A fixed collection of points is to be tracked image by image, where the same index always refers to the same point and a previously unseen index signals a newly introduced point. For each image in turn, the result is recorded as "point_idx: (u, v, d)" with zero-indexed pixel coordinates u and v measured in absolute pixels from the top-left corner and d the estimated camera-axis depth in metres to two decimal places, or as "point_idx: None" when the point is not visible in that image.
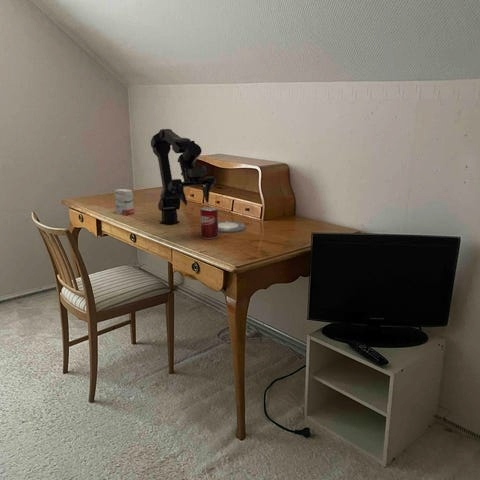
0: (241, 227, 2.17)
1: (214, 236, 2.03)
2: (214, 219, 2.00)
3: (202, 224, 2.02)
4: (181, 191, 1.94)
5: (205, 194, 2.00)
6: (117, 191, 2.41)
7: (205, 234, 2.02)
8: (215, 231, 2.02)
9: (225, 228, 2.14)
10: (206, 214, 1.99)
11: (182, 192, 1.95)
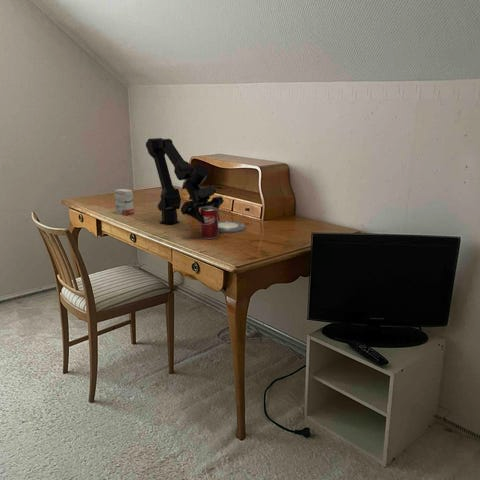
0: (241, 227, 2.17)
1: (214, 236, 2.02)
2: (214, 219, 2.00)
3: (202, 224, 2.02)
4: (197, 211, 2.00)
5: None
6: (117, 191, 2.41)
7: (205, 234, 2.02)
8: (215, 231, 2.02)
9: (225, 228, 2.14)
10: (206, 214, 1.99)
11: (198, 212, 2.00)
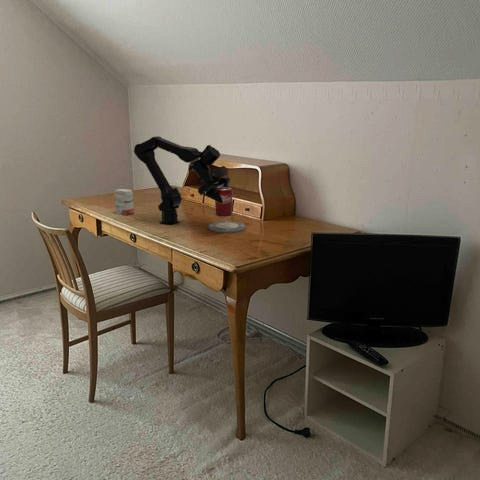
0: (241, 227, 2.17)
1: (230, 214, 2.11)
2: (230, 198, 2.09)
3: (219, 203, 2.08)
4: (215, 191, 2.06)
5: None
6: (117, 191, 2.41)
7: (222, 213, 2.09)
8: (231, 209, 2.11)
9: (225, 228, 2.14)
10: (224, 193, 2.07)
11: (216, 192, 2.07)
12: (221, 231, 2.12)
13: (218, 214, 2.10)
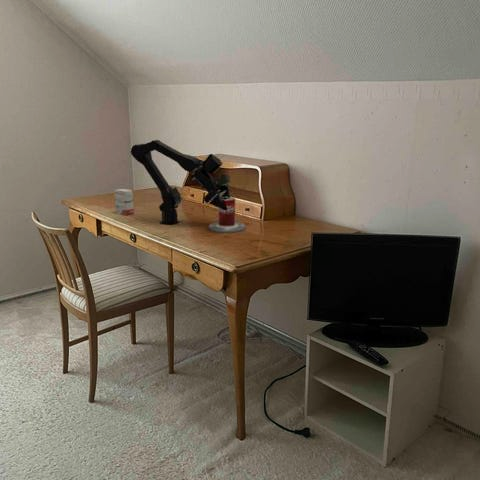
0: (241, 227, 2.17)
1: (234, 223, 2.18)
2: (234, 208, 2.16)
3: (224, 213, 2.14)
4: (219, 199, 2.11)
5: None
6: (117, 191, 2.41)
7: (227, 222, 2.15)
8: (234, 219, 2.18)
9: (225, 228, 2.14)
10: (228, 203, 2.13)
11: (220, 200, 2.11)
12: (221, 231, 2.12)
13: (222, 224, 2.16)
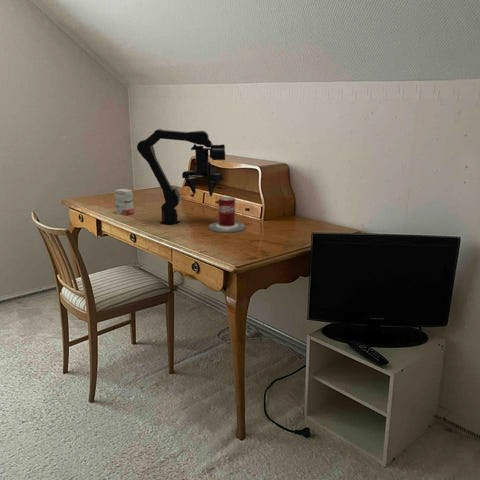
0: (241, 227, 2.17)
1: (234, 223, 2.18)
2: (234, 208, 2.16)
3: (224, 213, 2.14)
4: None
5: (193, 186, 2.25)
6: (117, 191, 2.41)
7: (227, 222, 2.15)
8: (234, 219, 2.18)
9: (225, 228, 2.14)
10: (228, 203, 2.13)
11: None
12: (221, 231, 2.12)
13: (222, 224, 2.16)
